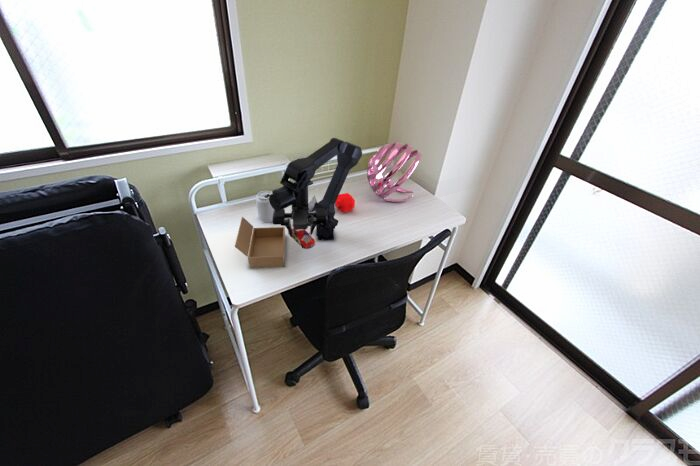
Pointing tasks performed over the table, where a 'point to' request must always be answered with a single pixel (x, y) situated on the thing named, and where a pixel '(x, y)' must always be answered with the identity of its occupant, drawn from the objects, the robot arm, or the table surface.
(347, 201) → the ball
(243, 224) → the flap
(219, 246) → the table surface
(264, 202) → the can
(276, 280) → the table surface
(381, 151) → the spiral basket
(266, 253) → the carton
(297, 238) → the race car
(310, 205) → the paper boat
